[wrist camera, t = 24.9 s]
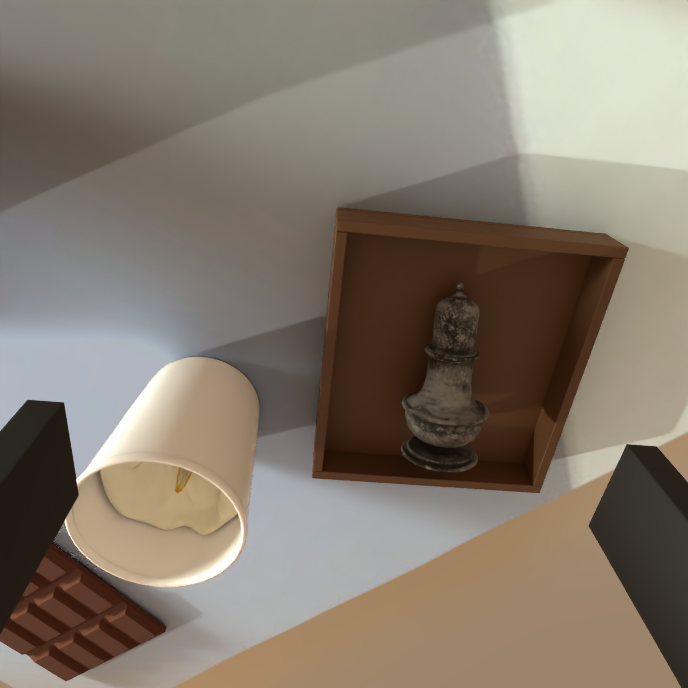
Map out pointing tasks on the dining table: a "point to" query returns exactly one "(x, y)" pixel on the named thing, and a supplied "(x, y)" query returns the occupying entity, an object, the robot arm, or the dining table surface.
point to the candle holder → (172, 479)
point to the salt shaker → (447, 392)
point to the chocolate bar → (74, 619)
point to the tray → (491, 342)
